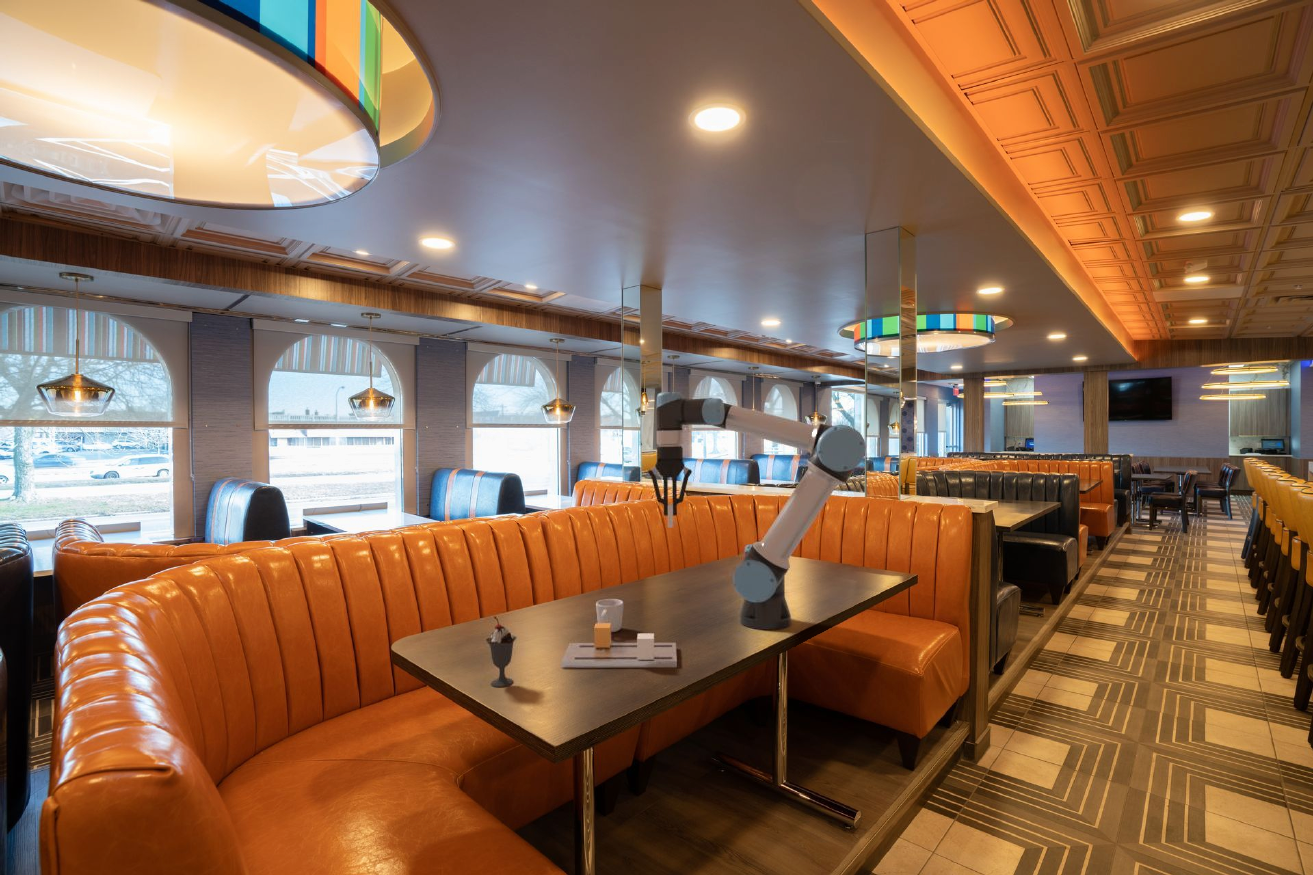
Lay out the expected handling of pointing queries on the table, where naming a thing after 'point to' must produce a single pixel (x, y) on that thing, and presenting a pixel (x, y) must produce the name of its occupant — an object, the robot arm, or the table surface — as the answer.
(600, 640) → the fader
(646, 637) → the block
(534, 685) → the table surface
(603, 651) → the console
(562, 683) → the table surface
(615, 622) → the cup
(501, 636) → the sundae
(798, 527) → the robot arm
